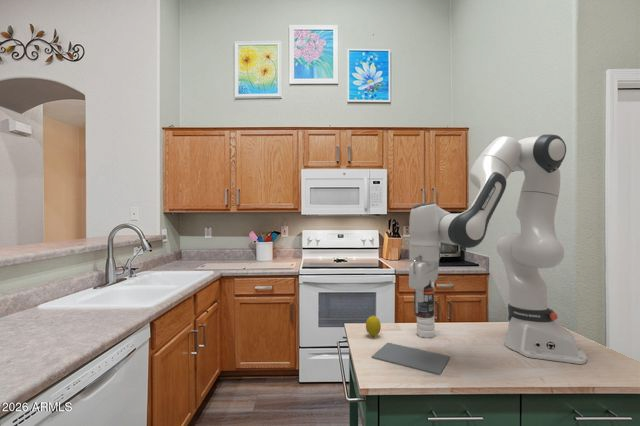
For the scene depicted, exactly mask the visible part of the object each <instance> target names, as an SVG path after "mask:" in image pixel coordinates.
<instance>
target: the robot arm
mask: <svg viewBox="0 0 640 426" xmlns="http://www.w3.org/2000/svg"><path fill="white" fill-rule="evenodd" d="M566 154H567V145H566V142H565V141H564V140H563V138H562V137H561V136H559V135H558V134H550V133H549V134H542V135H537V136H528V137H524V138H523V139H518V140H517V139H516V138H515V137H512V136H507V135H502V136H499V137H497V138H495V139H494V140H493V141H492V142H491V143H489V145H487V146H486V148H485V149H484V150H483V151H482V152H481V153H480V155H478V157H477V158H476V159H475V162H474V163H473V164H472V166H471V168H470V171H469V180H470V181H471V183H472V185H473V186H475V188H477V189H478V190H479V191H478V193H477V195H476V196H475V198H474V200H473V201H472V203H471V205H470V207H469V208H468V209H466V210H465V211H463V212H461V213H460V212H458V213H451V212H449V211H447V210H445V209H443V208H441V207H440V206H439V205H438V204H436V203H435V202H425V203H424V202H423V203H418V204H416V205H414V206H412V207H411V210H410V213H409V219H408V221H409V223H408V224H409V225H408V226H409V227H408V228H409V229H408V230H409V235H410V238H409V239H410V240H409V246H408V248H409V249H408V253H409V254H408V255H409V260H410V261H411V263H410V265H409V270H408V286H409V289H410V290H414V289H415V290H416V294H417V301H418V302H423V301H424V300H425V299H424V298H425V296H424V292H423V291H424V288H425V287H426V286H428V285H429V283H430V280H431V284H430V285H431V286H432V282H434V283H435V281H437V279H438V278H439V277H438V276H439V272H438V269H439V267H440V265H439V264H440V259H441V255H442V254H441V251H440V243H442V244H448V245H454V246H459V247H463V248H467V249H470V248H471V249H472V248H475V247H477V246H478V245H480V244H481V243H482V242H483V240H484V239H485V237H486V234H487V231H488V226H489V223H490V220H491V218H492V216H493V214H494V212H495V210H496V208H497V207H498V205H499V203H500V201H501V199H502V197H503V194H504V192H505V191H506V188H507V179H508V178H509V176H510V175H511V173H514V172H523V174H524V180H523V183H522V186H521V190H520V193H519V197H518V198H519V199H518V202H517V207H516V210H515V211H516V212H515V213H516V217H517V219H518V220H519V224H520V232H519V233H518V232H513V233H509V234H505V235H503V236H502V237H501V236H500V238H499V239H498V240H497V241H496V242H497V243H496V252H497V254H498V255H499V256H500V258H501V261H502V263H503V266H504V270H505V272H506V275H507V276H506V277H507V280H508V296H509V297H508V301H509V303H508V304H507V320H508V326H507V332H506V337H505V340H504V346H506V347H507V348H509V349H510V350H513V351H515V352H517V353H520V354H521V355H522V356H524V357H527V358H533V359H540V360H545V361H547V360H548V361H553V362H554V361H555V362H560V363H561V362H562V363H570V364H575V365H584V364H586V363H587V362H588V358H587V354H586V353H585V351H584V350H583V349H581V348H579V347H578V343H577V340H576V338H575V336H574V335H573V334H572V333H571V332H570V331H569V330H568V329H566V328H565V326H563V325H561V324H560V323H559V322H557V321H556V320H558V314H557V313H556V312H555V311H554V309H550V308H549V307H548V286H547V283H546V282H545V280H544V279H543V278H542V276H541V274H540V271H539V269H550V268H554V267H557V266H558V265H560V264H561V263H562V261H563V260H564V255H565V250H564V247H563V245H562V244H561V242H560V241H559V240H558V238H557V235H556V229H555V219H556V211H557V205H558V200H559V195H560V191H561V171H560V169H559V168H560V167H561V165H562V163H563V162H564V160H565V158H566Z"/></svg>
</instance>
